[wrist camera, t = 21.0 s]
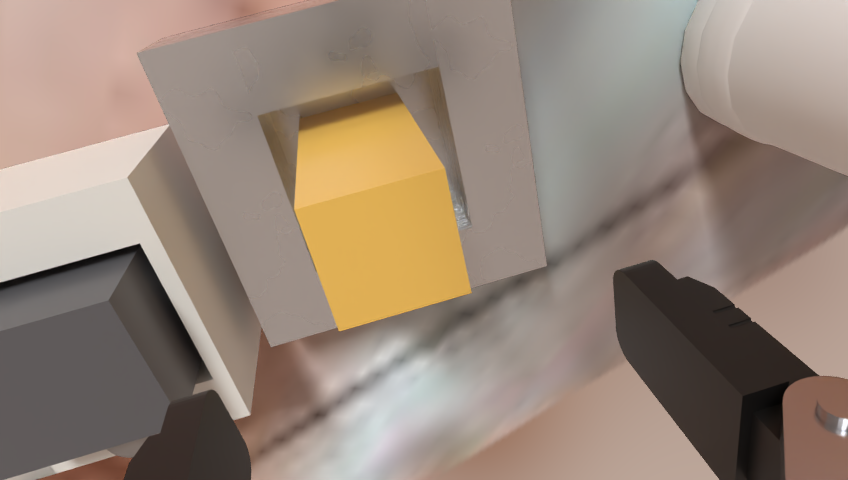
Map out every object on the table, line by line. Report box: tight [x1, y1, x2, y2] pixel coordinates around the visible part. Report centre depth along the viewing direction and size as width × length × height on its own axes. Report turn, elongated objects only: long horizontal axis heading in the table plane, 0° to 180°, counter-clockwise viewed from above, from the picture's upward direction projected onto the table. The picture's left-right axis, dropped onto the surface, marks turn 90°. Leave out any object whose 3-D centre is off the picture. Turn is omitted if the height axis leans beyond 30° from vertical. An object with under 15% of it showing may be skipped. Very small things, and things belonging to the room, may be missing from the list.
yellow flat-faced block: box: [294, 93, 472, 331], centre depth 19 cm, size 4×4×9 cm
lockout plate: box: [137, 0, 547, 347], centre depth 22 cm, size 12×12×4 cm
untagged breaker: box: [0, 243, 202, 480], centre depth 19 cm, size 5×6×5 cm
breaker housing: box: [0, 124, 262, 480], centre depth 21 cm, size 10×16×7 cm, turn 104°
